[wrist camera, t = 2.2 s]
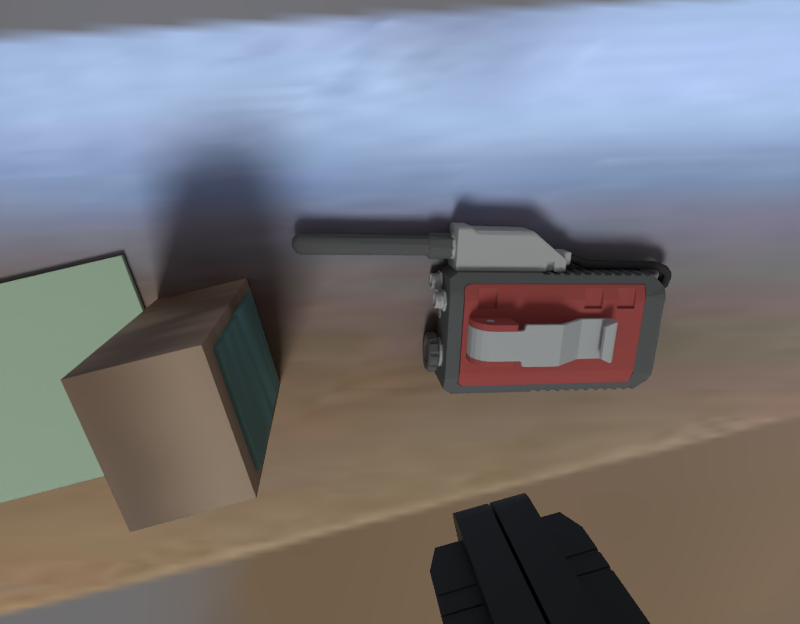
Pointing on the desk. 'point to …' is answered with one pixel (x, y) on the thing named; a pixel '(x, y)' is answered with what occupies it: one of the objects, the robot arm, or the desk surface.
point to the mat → (54, 369)
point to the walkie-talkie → (524, 309)
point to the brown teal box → (180, 405)
